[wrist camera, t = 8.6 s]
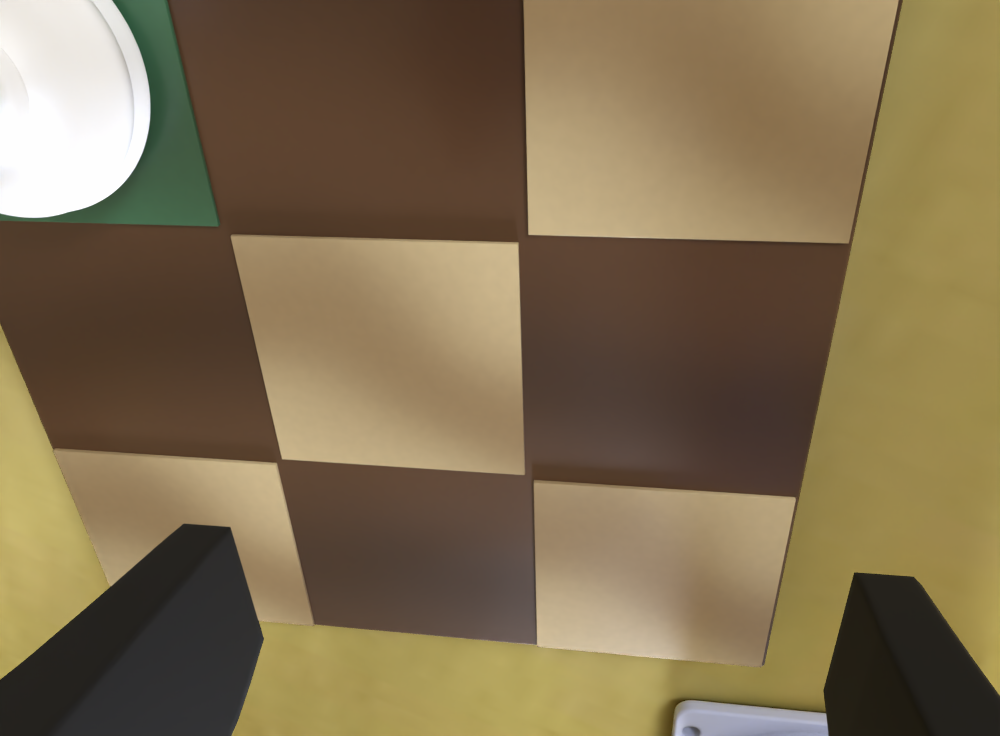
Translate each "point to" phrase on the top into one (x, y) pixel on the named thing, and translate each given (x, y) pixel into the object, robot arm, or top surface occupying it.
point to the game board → (465, 308)
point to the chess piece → (67, 105)
